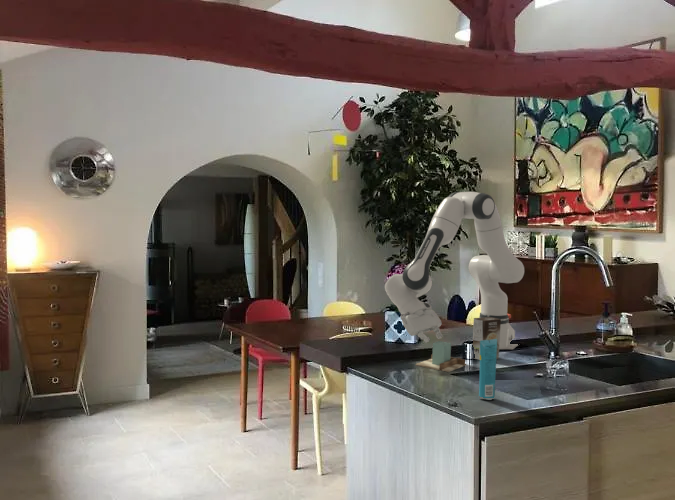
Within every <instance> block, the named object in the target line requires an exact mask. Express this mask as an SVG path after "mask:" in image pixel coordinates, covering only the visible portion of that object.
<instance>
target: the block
mask: <svg viewBox="0 0 675 500" xmlns="http://www.w3.org/2000/svg"><path fill="white" fill-rule="evenodd" d="M451 350H452V343H451V342H446V341H441V340H439V341H435V342H433V343H432V364H436V365H440V364H441V363H444V362H446V361H449V360H450V357H452V356H451V353H452V352H451Z"/></svg>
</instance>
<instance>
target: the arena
mask: <svg viewBox="0 0 675 500" xmlns="http://www.w3.org/2000/svg"><path fill="white" fill-rule="evenodd" d="M432 354H433V353H432ZM432 354H431V355H430V358H429V359H427V360H423V361H421V362H418V363H416V364H415V366H417V367H421V368H427V369H432V370H436V371H440V372H447V373H449V372H452V371H455V370H457V369H460V368H463V367H465V366H467V363H466V359H465V358H464V359H462V358H461V357H453V356H451V357H450V360H449V361H446V362H444V363H441V364H440V365H436V364H432Z"/></svg>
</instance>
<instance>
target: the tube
mask: <svg viewBox="0 0 675 500" xmlns="http://www.w3.org/2000/svg"><path fill="white" fill-rule="evenodd" d="M496 355H497V339H491V340H482V341H480V360H479V383H478V386H479V387H478V388H479V389H478V397H479V396H480V397H483V398H494V397H495V396H496V395H495V394H496V376H497V375H496V371H497V359H496ZM495 398H496V397H495Z"/></svg>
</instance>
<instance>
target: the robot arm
mask: <svg viewBox="0 0 675 500" xmlns="http://www.w3.org/2000/svg"><path fill="white" fill-rule="evenodd" d="M463 219H464V220H467V219H468V220H471V219H472V220H474V223H473V224H474V229H475V235H476V239H477V240H476V241H477V245H478V247H479V248H480V249H481V250H482V251H483V252H485V254H479V255H475V256H473V257H472V258H471V259H470V260H469V263H468V272H469V274H470V276H471V277H472V278H473V279H474V280H475V282H476V284H477V286H478V289H479V292H480V312H479V316H478V318H483V317H492V318H498V319H501V325H500V343H499V350H515V348H516V347H518V346H519V345H518V344H510V342H511V341H512V339H514V338H515V339H516V330H515V329H514V328H513V327H512V326H511V324H510V321H509V320H510V319H511V318H512V314H511V313H508V300H509V299H508V295H507V293H506V292H504V291H503V290H502V289H501V287H500V284H499V283H502V284H513V283H514V284H515V283H519V282H520V281H521V280H522V279H523V277H524V275H525V266H524V264H523V262H522V261H521V260H520V259H518V258H517V257H516V256H515V254H513V252H512V251H511V250H510V247H509V246H508V244H507V242H506V239H505V234H504V230H503V229H504V228H503V225H502V219H501V215H500V212H499V209H498V206H497V205H496V203H495V200H494V198H493V197H492V196H491V195H490V194H487V193H486V192H476V191H455V192H452V193H450V194H449V195H448V196H447V197H445V198H444V199H443V200H442V201H441V202H440V204H439V205H438V207H437V208H436V211H434V214H433V216H432V218H431V221H430V223H429V226H428V229H427V232H426V234H425V237H424V239H423V242H422V244H421V246H420V248H419V249H418V252H417V253H416V255H415V257H414V259H413V260H412V261H411V262H410V263H408V265H406V266H405V268H404V270H403V272H402V273H399V274H397V273H394V274H392V275H391V276H390V277H389V278H388V279H387V280H386V282H385V284H384V291H385V292H386V295H387V297H388V298H389V299H390V301H391V302H392V303H393V304H394V306H396V307H397V309H398V312H399V313H400V319H401V323H402V325H403V327H404V328H405V330H406V332H407V333H408V334H409V336H412V337H414V336H418V338H420V339H421V340H422V341H423V342H424V343H425V344H427V343H429V342H430V341H431V338H430V337H429V336H427V335H426V334H424V333H427V332H431V331H432V332H434V333H435V337H436V338H437V339H438V340H440V339H442V338H443V334H442V332H441V329H440V327H441V325H443V324H442V320H441V319H440V317H439V315H438V314H437V313H436V312H435V310H433V309H432V304H430V303H428V302H424V301H421V300H420V299H419V298H420V297H422V296H424V295H426V294H428V293H429V292H430V291H431V289H432V288H433V287H432V286H433V279H432V277H431V275H430V266H431V264H432V262H433V260H434V258H435V257H436V254H437V252H438V250H439V249H440V248H441V247H443V246H445V245H448V244H450V243H451V242H452V241H453V239H455V236H456V234H458V230H459V228H460V226H461V223H462V221H463Z"/></svg>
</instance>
